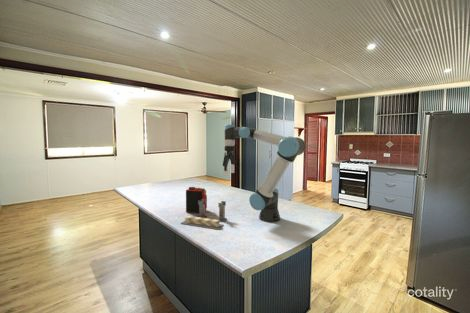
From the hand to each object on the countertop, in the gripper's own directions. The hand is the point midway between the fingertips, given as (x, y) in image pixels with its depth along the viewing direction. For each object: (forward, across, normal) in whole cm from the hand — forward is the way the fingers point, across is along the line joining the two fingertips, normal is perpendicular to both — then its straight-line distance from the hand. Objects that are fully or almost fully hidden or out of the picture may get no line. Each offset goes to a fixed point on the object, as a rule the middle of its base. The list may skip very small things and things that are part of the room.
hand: (229, 174), depth 170 cm
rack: (+32, +11, -9) cm, 35 cm away
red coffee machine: (+32, 0, -28) cm, 42 cm away
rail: (+31, +24, -10) cm, 41 cm away
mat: (+32, +24, -10) cm, 41 cm away
